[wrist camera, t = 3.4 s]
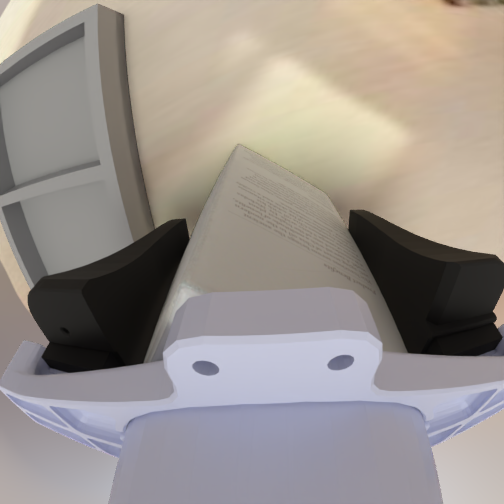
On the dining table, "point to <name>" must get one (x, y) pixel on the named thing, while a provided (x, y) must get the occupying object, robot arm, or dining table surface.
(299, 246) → the skincare box
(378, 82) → the dining table surface
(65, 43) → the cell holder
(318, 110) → the dining table surface
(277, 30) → the dining table surface
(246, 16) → the dining table surface
